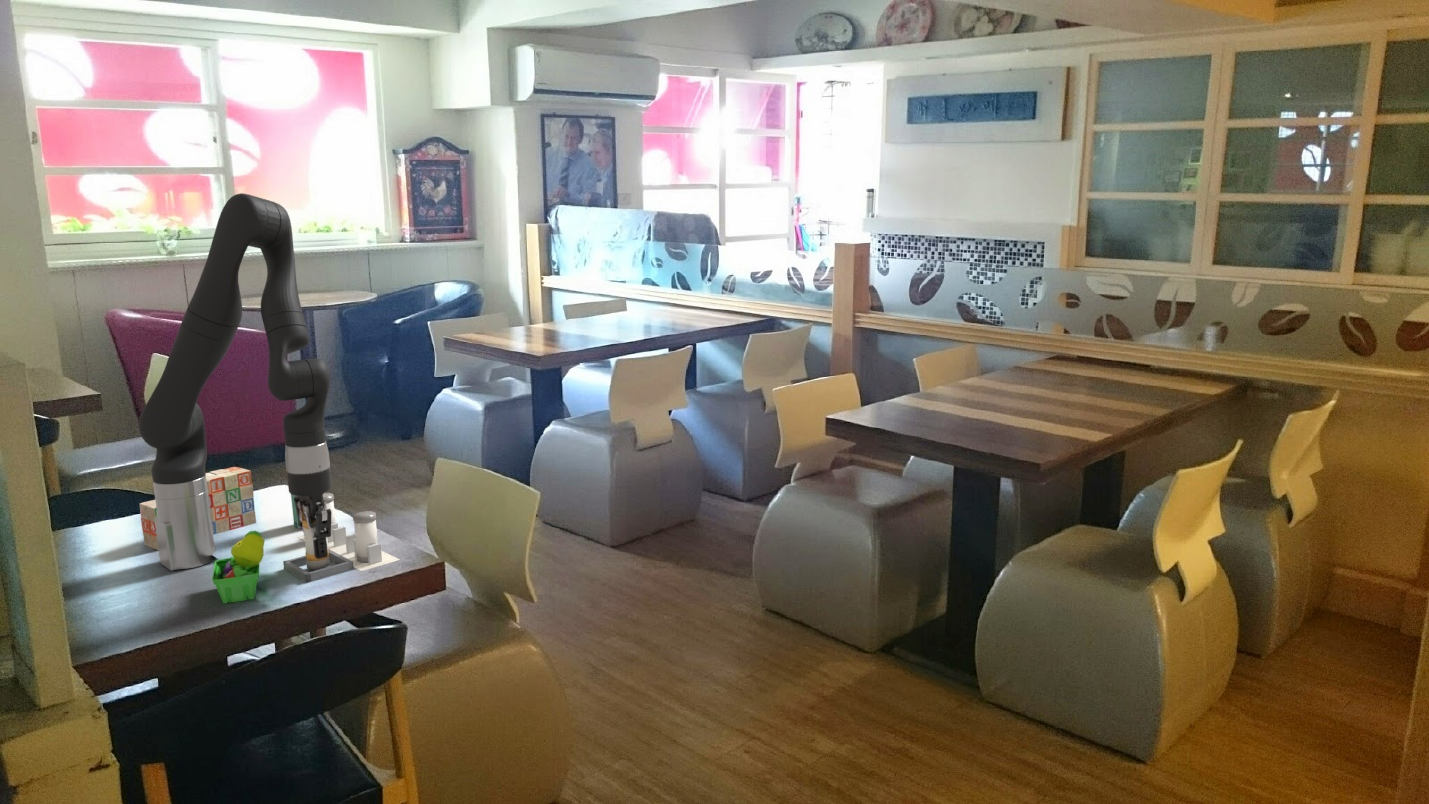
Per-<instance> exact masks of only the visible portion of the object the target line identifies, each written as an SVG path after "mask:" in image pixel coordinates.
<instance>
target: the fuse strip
mask: <svg viewBox="0 0 1429 804" xmlns="http://www.w3.org/2000/svg"><path fill="white" fill-rule="evenodd" d="M338 524H339V523H337V522H336V523H333V524H331V536H330V537H327V539H328V549H330V550H332V551H333V552H335V553H337V554H339V555H341V556H343V557H345V558H347V559H349V560H351V561H353V568H354V569H356V570H357V571H359V572H364V571H367V570H371V569H374V568H377V567H380V566H381V567H382V566H384V565H387V564H391V563H395V562H399V561H401V559H400V558H397V557H396V556H394V555H392V554H389V553H387V552H385V551H383V550H382V546H381V543H379V542H378V543H377V544H374V545H370V546H367V553H368V563H360V562H358V561H357V556H356V555H357V550H356V539H355V532H354V533H351V534H349V533H347V531H346V527H345V526H341V527H340V526H339V525H338ZM297 539H299V540H301V541H303V542H305V539H304V535H300V536H297Z"/></svg>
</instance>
